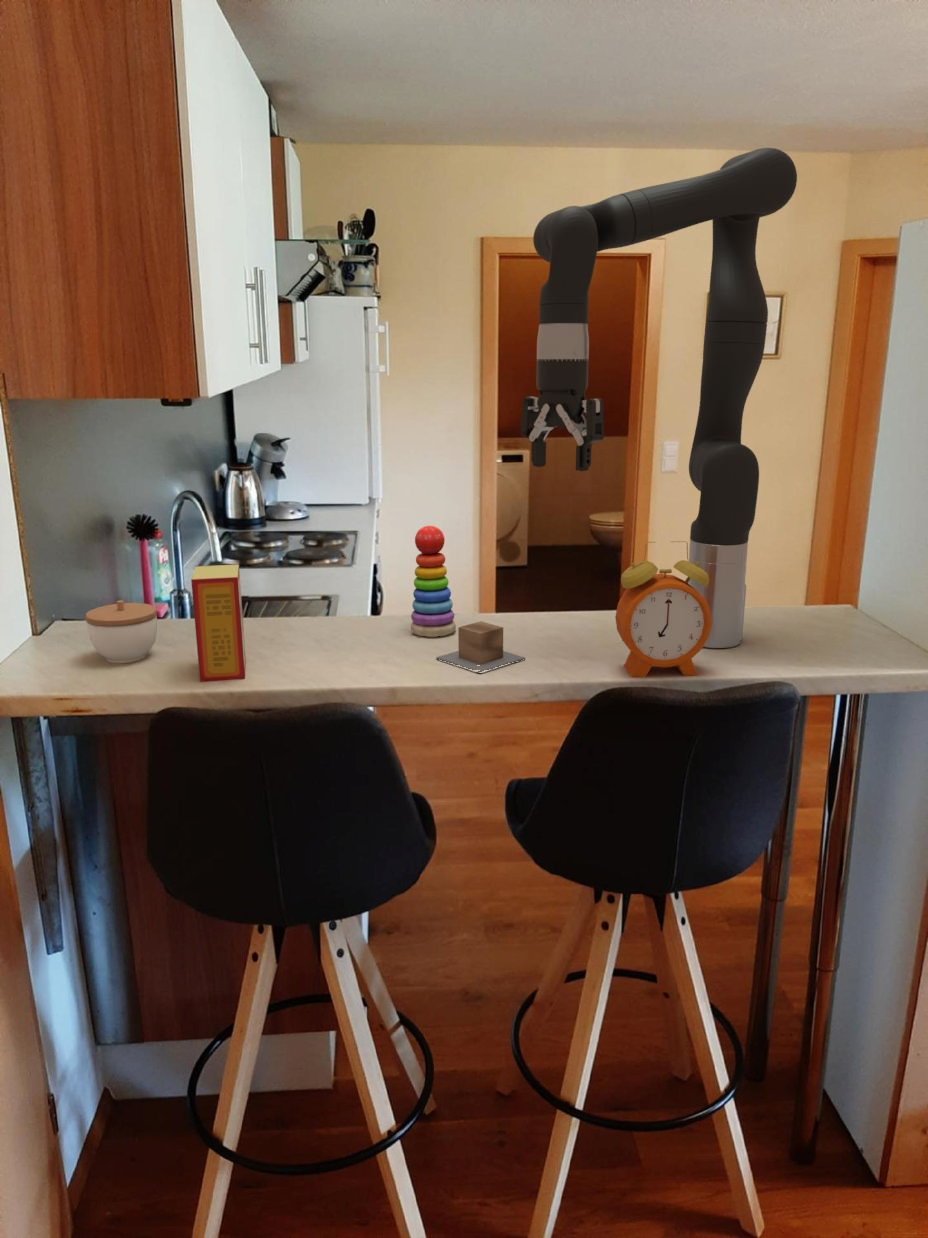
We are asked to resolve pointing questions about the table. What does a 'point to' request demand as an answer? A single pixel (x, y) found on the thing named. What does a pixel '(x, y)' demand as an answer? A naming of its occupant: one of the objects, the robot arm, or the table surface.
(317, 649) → the table surface
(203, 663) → the baking soda box
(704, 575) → the alarm clock
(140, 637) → the lidded jar
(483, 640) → the cube
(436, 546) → the stacking toy
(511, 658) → the mat
